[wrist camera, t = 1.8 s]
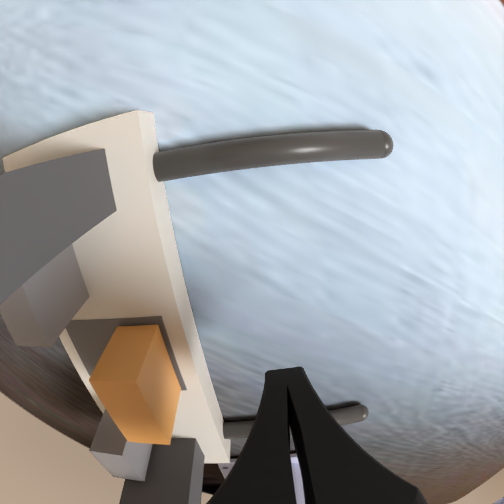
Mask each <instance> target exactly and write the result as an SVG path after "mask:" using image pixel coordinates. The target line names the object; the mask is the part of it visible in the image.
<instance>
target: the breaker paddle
mask: <svg viewBox="0 0 504 504" xmlns="http://www.w3.org/2000/svg"><path fill="white" fill-rule="evenodd" d="M89 382H90V384H91V386H92V387H93V389H94V391H95V392H96V394H97V396H98V397H99V399H100V401H101V402H102V404H103V405H104V407H105V408H106V410H107V412H108V413H109V415H110V416H111V418H112V419H113V421H114V422H115V424H116V425H117V427H118V428H119V429H120V431H121V432H122V434H123V435H124V437H125V438H126V439H127V441H128V442H136V443H148V444H164V445H170V442H171V437H172V432H173V427H174V421H175V416H176V411H177V406H178V401H179V396H180V392H181V387H180V384H179V382H178V379H177V376H176V374H175V371H174V369H173V366H172V363H171V360H170V358H169V355H168V352H167V349H166V346H165V344H164V341H163V338H162V335H161V332H160V329H159V326H158V325H140V326H117V328H116V330H115V332H114V333H113V335H112V337H111V339H110V341H109V342H108V344H107V346H106V348H105V350H104V352H103V354H102V355H101V357H100V359H99V361H98V363H97V365H96V367H95V369H94V371H93V372H92V374H91V376H90V378H89Z"/></svg>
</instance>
